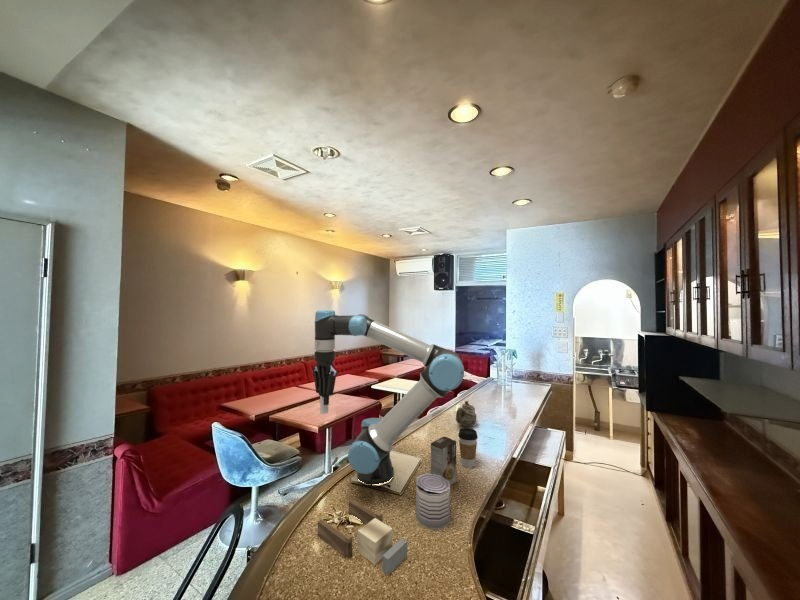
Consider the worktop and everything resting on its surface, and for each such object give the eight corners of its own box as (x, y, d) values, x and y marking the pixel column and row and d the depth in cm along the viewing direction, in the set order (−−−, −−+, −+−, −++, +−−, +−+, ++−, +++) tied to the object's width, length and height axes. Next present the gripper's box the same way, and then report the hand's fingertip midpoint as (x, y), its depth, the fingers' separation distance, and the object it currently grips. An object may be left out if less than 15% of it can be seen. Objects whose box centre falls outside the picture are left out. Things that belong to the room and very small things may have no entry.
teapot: (464, 419, 193) (464, 394, 193) (482, 423, 186) (482, 398, 186) (448, 430, 175) (448, 403, 176) (467, 435, 168) (467, 407, 169)
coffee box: (444, 475, 128) (444, 435, 129) (457, 481, 124) (457, 440, 124) (430, 483, 122) (430, 442, 122) (443, 490, 117) (443, 447, 118)
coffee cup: (454, 464, 137) (454, 430, 137) (464, 457, 143) (464, 425, 143) (471, 471, 131) (471, 435, 131) (481, 464, 137) (481, 430, 137)
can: (415, 506, 108) (415, 471, 108) (448, 507, 108) (448, 472, 108) (416, 529, 97) (416, 490, 97) (452, 530, 96) (452, 491, 96)
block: (375, 538, 93) (375, 517, 93) (392, 549, 89) (392, 528, 89) (357, 552, 88) (357, 530, 88) (375, 565, 83) (375, 542, 83)
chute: (352, 511, 105) (352, 496, 105) (382, 530, 96) (382, 513, 96) (317, 535, 94) (317, 517, 94) (348, 558, 85) (348, 539, 85)
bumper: (401, 552, 88) (401, 538, 88) (406, 556, 86) (406, 541, 86) (382, 571, 81) (382, 555, 81) (388, 575, 80) (388, 559, 80)
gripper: (306, 350, 119) (305, 411, 118) (327, 353, 111) (326, 419, 110) (322, 348, 125) (321, 406, 124) (343, 351, 117) (343, 414, 116)
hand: (324, 412), depth 117 cm, fingers closed
